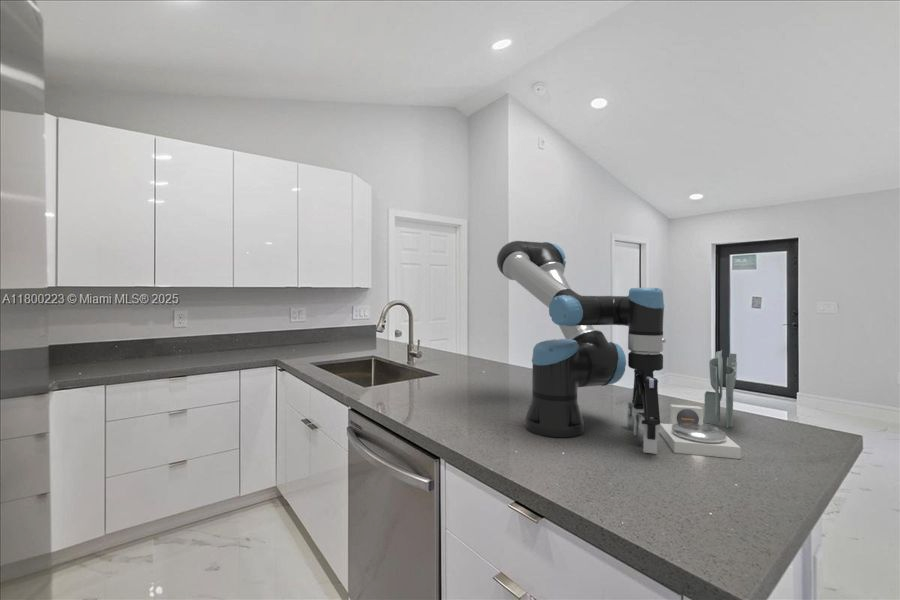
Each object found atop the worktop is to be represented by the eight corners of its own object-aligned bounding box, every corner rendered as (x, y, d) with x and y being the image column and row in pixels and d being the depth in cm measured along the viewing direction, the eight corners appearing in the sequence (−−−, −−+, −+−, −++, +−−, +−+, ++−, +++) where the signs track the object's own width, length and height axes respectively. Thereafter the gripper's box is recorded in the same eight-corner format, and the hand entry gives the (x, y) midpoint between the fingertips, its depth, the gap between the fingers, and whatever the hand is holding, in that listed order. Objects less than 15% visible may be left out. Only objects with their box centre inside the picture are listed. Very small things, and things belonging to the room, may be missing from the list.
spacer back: (628, 430, 107) (628, 403, 107) (625, 425, 111) (626, 400, 111) (644, 431, 106) (645, 405, 106) (641, 427, 110) (642, 401, 110)
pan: (678, 440, 92) (679, 435, 92) (666, 425, 102) (666, 421, 102) (734, 445, 89) (734, 440, 89) (715, 429, 100) (715, 425, 100)
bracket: (733, 439, 101) (734, 359, 101) (699, 433, 105) (700, 356, 105) (736, 414, 123) (737, 348, 123) (709, 410, 127) (709, 346, 127)
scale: (674, 452, 92) (674, 421, 91) (657, 429, 107) (657, 403, 107) (740, 459, 88) (741, 427, 88) (712, 434, 104) (713, 407, 104)
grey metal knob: (636, 446, 95) (637, 416, 95) (633, 440, 99) (634, 412, 99) (655, 448, 94) (655, 418, 94) (651, 442, 98) (652, 413, 98)
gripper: (676, 360, 84) (675, 464, 84) (651, 347, 107) (650, 429, 107) (637, 358, 86) (636, 460, 86) (621, 346, 109) (620, 426, 109)
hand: (644, 443), depth 97 cm, fingers open, 11 cm apart
